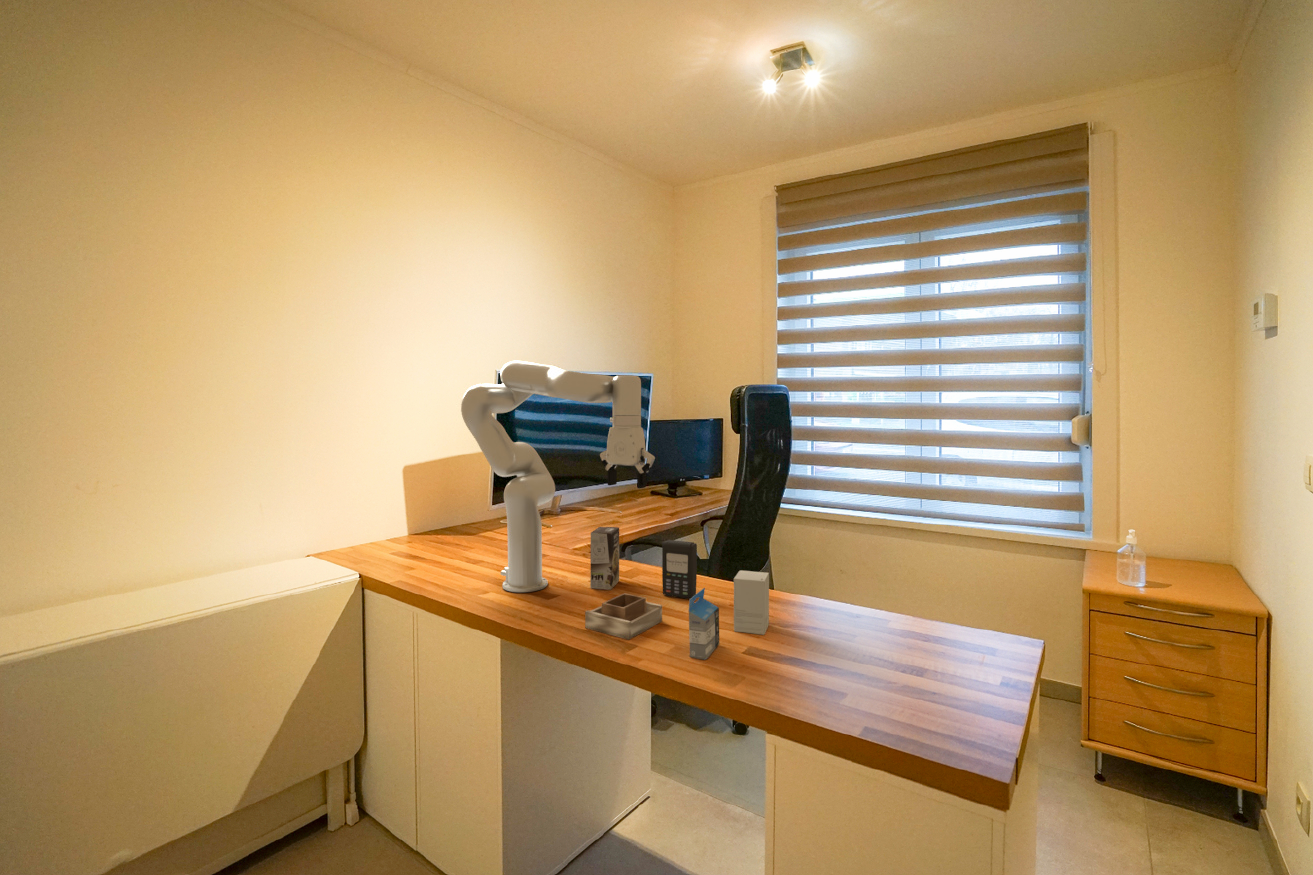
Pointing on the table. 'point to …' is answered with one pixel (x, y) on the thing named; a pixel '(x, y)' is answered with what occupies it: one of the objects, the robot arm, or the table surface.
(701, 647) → the label tape box
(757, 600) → the supplement box
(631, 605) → the small crate
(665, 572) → the card reader
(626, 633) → the tray
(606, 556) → the coffee box
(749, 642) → the table surface
